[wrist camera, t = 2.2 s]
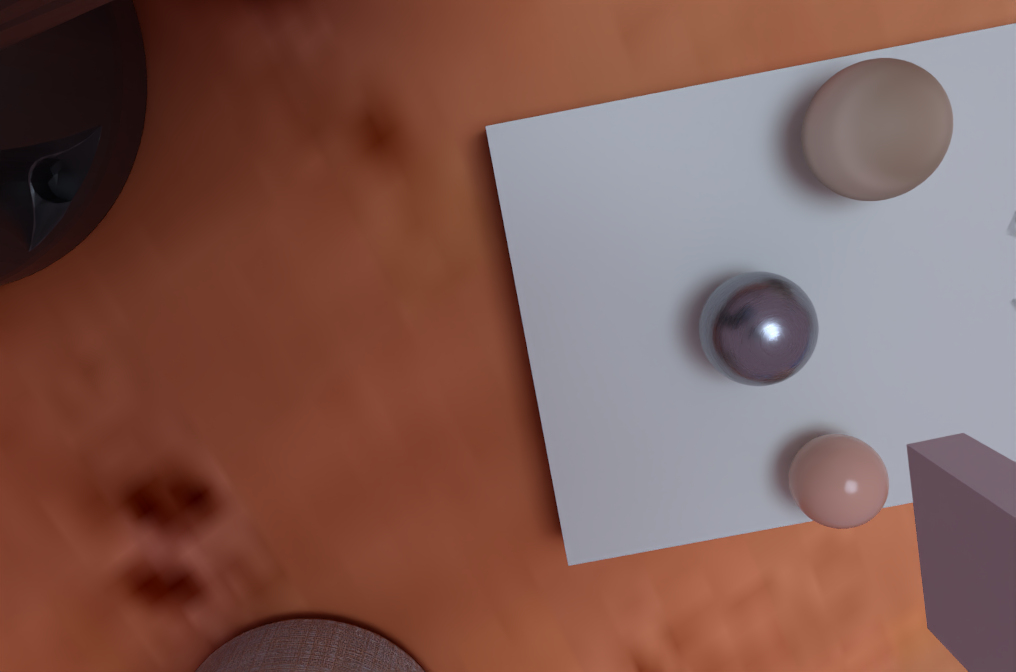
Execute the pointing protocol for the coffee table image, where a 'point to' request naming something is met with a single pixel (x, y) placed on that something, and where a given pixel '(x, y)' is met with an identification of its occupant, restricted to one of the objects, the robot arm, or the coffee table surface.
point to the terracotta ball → (838, 481)
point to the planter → (309, 650)
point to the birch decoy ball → (877, 129)
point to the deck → (748, 248)
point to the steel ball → (758, 328)
